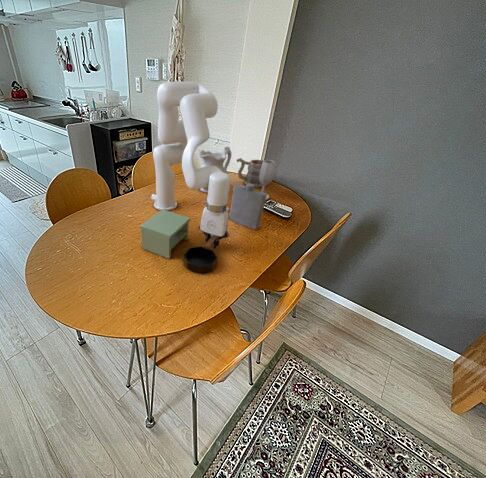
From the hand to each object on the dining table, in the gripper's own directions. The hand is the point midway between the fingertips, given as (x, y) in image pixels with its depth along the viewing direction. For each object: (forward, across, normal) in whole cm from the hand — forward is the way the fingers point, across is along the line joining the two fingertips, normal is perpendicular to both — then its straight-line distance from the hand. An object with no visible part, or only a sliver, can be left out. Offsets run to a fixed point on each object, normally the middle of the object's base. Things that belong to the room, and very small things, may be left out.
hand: (212, 245), depth 107 cm
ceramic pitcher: (+2, -24, +56) cm, 60 cm away
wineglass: (+2, +5, +60) cm, 61 cm away
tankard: (+2, -8, +78) cm, 79 cm away
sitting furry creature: (+2, -11, +34) cm, 35 cm away
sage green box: (+1, -18, -8) cm, 20 cm away
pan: (+1, 0, -7) cm, 7 cm away
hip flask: (+2, +5, +26) cm, 27 cm away
